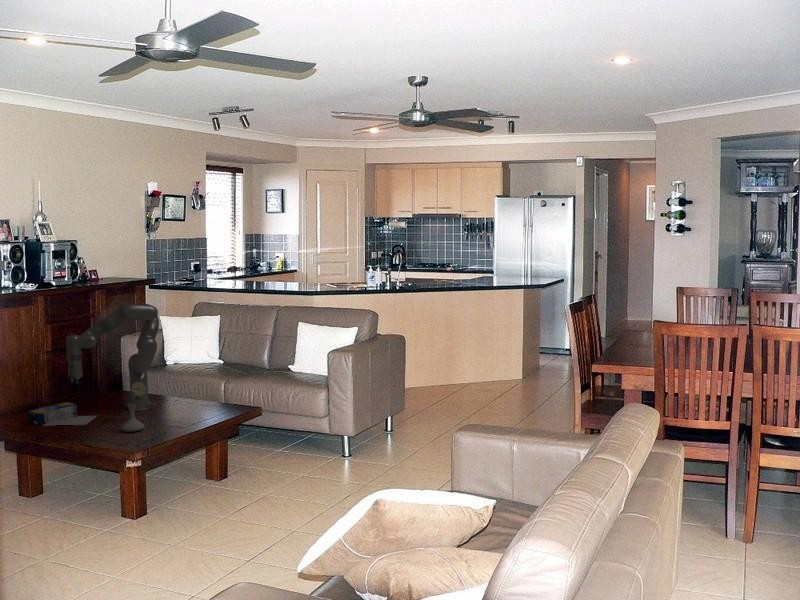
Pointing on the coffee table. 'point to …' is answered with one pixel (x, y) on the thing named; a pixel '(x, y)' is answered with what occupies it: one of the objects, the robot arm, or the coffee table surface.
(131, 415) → the flower in vase
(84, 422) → the mat
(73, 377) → the robot arm
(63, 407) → the beverage box
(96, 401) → the coffee table surface
